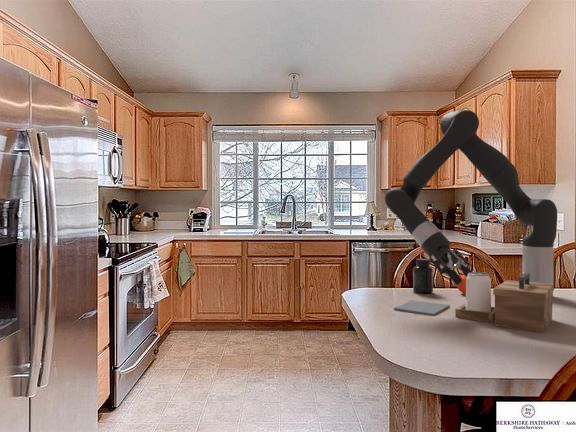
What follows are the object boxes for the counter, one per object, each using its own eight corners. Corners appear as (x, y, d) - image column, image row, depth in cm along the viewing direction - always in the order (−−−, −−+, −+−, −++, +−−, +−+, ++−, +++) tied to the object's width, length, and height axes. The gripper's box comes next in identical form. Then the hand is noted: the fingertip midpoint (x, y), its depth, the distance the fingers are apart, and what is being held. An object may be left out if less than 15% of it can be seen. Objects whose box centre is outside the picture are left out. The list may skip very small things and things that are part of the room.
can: (489, 314, 125) (489, 272, 125) (492, 320, 119) (492, 275, 119) (465, 312, 127) (465, 271, 127) (466, 318, 121) (466, 274, 121)
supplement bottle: (424, 290, 163) (424, 257, 162) (437, 293, 156) (437, 259, 156) (409, 291, 160) (409, 258, 160) (421, 295, 154) (421, 260, 153)
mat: (411, 302, 142) (411, 300, 142) (449, 307, 135) (449, 305, 135) (394, 310, 131) (393, 308, 131) (434, 315, 124) (434, 313, 124)
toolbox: (468, 308, 133) (468, 266, 132) (553, 319, 119) (553, 273, 119) (451, 319, 119) (451, 273, 119) (544, 333, 106) (545, 281, 106)
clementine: (484, 296, 151) (484, 275, 151) (466, 297, 150) (466, 276, 150) (469, 292, 159) (469, 272, 159) (452, 292, 158) (452, 273, 157)
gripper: (426, 231, 127) (464, 275, 119) (450, 230, 136) (487, 270, 128) (410, 248, 131) (446, 292, 123) (434, 246, 140) (469, 286, 132)
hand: (467, 281), depth 125 cm, fingers open, 8 cm apart
